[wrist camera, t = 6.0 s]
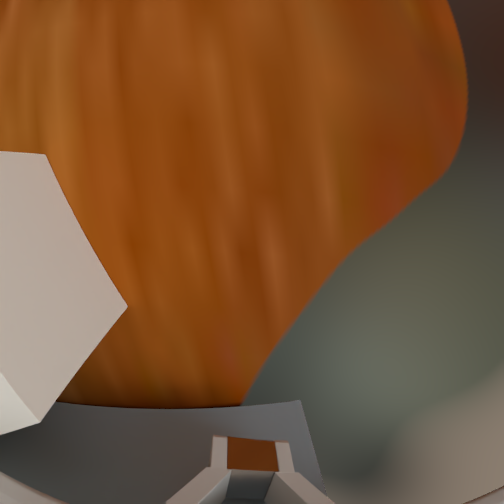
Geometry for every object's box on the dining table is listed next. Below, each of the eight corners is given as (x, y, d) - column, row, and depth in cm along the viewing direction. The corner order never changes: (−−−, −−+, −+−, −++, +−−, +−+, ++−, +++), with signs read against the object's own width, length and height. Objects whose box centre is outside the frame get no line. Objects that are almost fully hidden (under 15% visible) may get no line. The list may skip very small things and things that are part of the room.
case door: (3, 413, 14) (-50, 481, 7) (-10, 388, 14) (-70, 455, 7) (300, 427, 15) (330, 547, 8) (300, 398, 14) (336, 526, 7)
